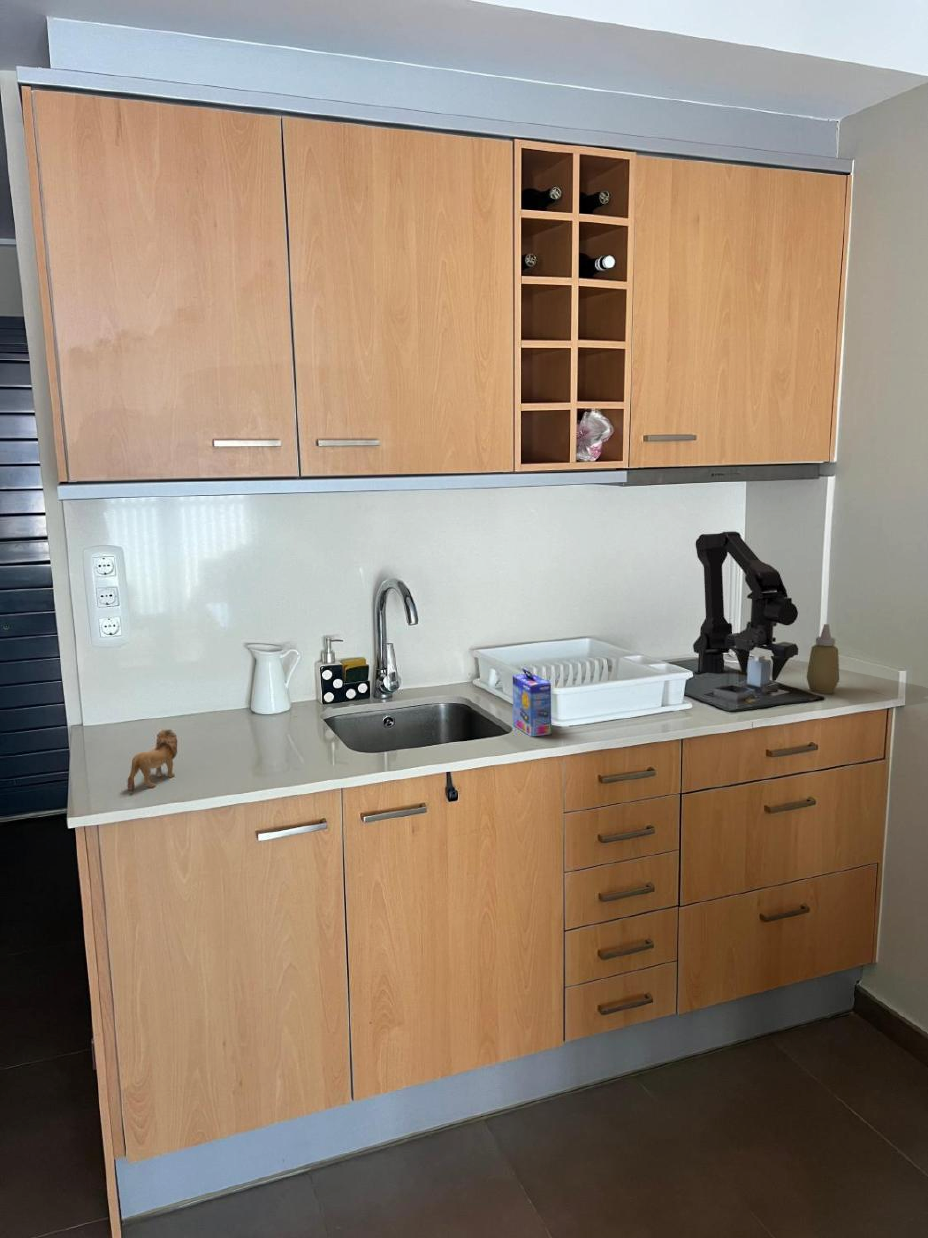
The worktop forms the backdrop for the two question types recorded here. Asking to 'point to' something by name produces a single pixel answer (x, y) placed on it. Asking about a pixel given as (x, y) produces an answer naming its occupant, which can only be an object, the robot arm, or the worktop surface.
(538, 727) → the ink cartridge box
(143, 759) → the lion figurine
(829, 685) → the squeeze bottle
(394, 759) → the worktop surface
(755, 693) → the panel
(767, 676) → the plug
